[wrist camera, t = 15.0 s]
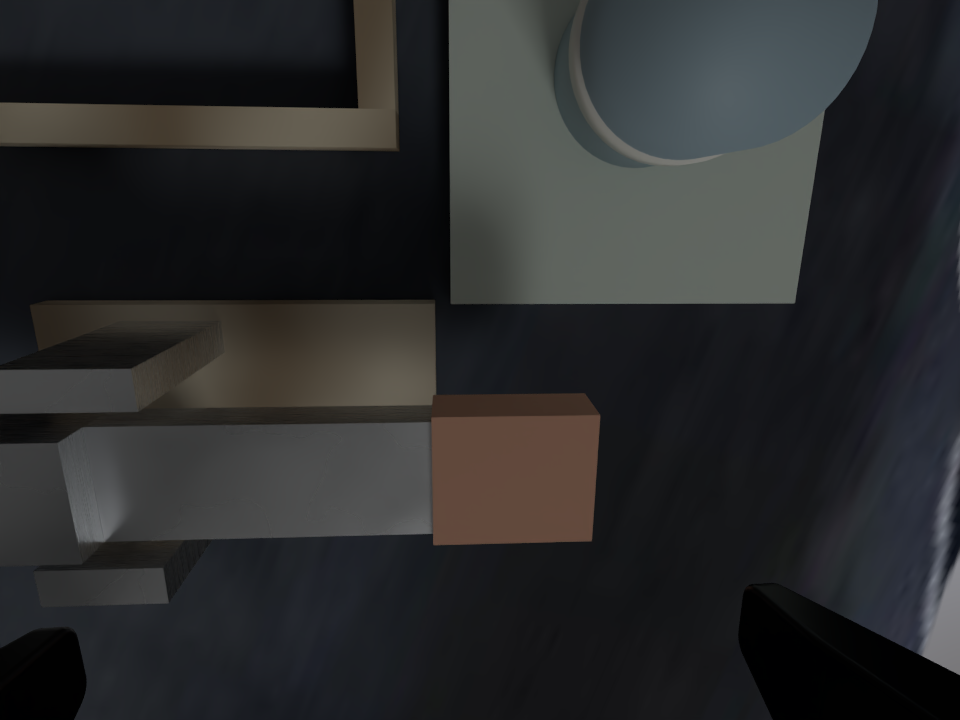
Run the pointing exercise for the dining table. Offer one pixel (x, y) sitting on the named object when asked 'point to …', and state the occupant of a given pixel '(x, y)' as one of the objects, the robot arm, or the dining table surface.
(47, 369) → the base
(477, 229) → the pad
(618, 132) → the grey round canister
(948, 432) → the dining table surface
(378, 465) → the cutter handle
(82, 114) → the open square beige frame
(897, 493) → the dining table surface
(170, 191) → the dining table surface
